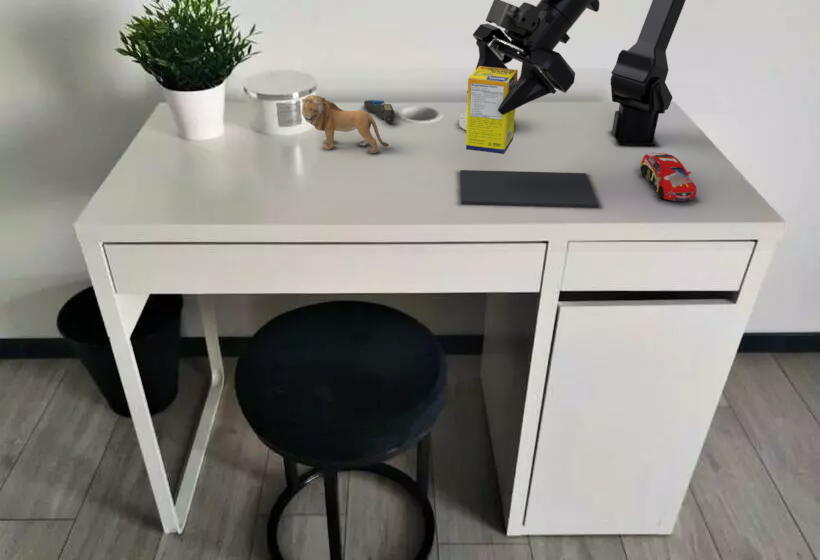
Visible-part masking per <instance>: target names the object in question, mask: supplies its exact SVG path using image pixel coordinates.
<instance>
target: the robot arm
mask: <svg viewBox="0 0 820 560" xmlns="http://www.w3.org/2000/svg"><path fill="white" fill-rule="evenodd" d="M685 3H686V0H652V1H651V3H650V6H649V8H648V12H647V14H646V16H645V20H644V22H643V25H642V27H641V30H640V33H639V35H638V37H637V40H636V42H635V43H634V44H633V45H632V46H631V47H629V49H627V50H626V49H621V51H620V52H619V53H618V55H617V59H616V62H615V65H614V67H613V69H612V70H611V76H610V83H609V85H610V91H611V102H612V103H616V104H617V103H618V104H619V105H618V110H615V112H614V115H613V116H614V117H613V121H612V128H611V134H612V136H613V137H614V139H615V140H616V143H617V145H619V146H642V147H643V146H645V147H646V146H647V147H655V146H657V142H656V139H655V136H656V129H657V126H658V125H657V124H658V120H659V115H660V114H665V113H666V111H667V110H668V109H669V108H670V106H671V103H672V101H673V95H672V93H671V91H670V89H669V88H668V85H667V83H666V80H667V77H668V74H669V64H668V58H667V50H668V47H669V44H670V41H671V39H672V36H673V35H674V32H675V29H676V26H677V24H678V21H679V18H680V16H681V13H682V11H683V9H684V6H685ZM600 5H601V4H600V0H540V1H539V2H538V3H537V5H535V4H532V3H529V2H525V1H523V2H522V3H521V5H520V6H517V5H514V4H512V3H510V2H506V1H504V0H493V1H492V3H491V6H490V9H489V10H488V13H487V16H486V18H485V22H487V23H482V24H479V26H478V27H477V28H476V29H475V31H474V32H473V33H472V37H473V38H474V39H475V40H476V42H475V45H476V46H477V47H478V55H479V56H478V60H477V63H476V67H475V70H476V69H477V68H478V67H479V66H483V67H493V68H504V69H509V68H508V66H507V65H506V64H508V63H511V62H512V61H513V60H515V61H518V62H520V63H521V70H520V76H519V78H517V82H516V83H515V85H514V86H513V87H512V89H511V90H510V92H509V93H508V94H507V96H506V97H505V99H504V100H503V102H502V103H501V105H500V107H499V108H498V111H499V112H500V114H502V115H504V114H506V113H508V112H510V111H512V110H514V109H515V110H516V109H518V108H520V107H522V106H524V105H526V104H528V103H530V102H533V101H534V100H537V99H539V98H542V97H544V96H547V95H550V94H553V95H554V94H556V93H557V90H558V91H560V92H562V93H564V94H566V93H567V92H568V91H569V89H570V88H571V87H573V85H574V83H575V78H576V77H575V76H576V72H575V71H574V69H573V68H572V67H571V66H570V64H569V63H568V62H567V61H566V60H565V58H564V57H563V56H562V55H561V53H560V52H558V51H555V50H554V49H555V48H556V47H557V45H559V43H562V44H565V45H566V44H567V43H568V42H569V40H571V37H570V36H569V34H568V32H569V31H570V29H572V27H573V26H574V25H575V23H576V22H577V21H578V20H579V18H580V17H581V16H582V15H583V14H584V12H585V11H586V10H587V9H588V10H590V11H593V12H595V13H597V12H599V10H600ZM492 24H495V25H496V26H495V25H492ZM501 28H502V29H504V30H502V29H501ZM466 94H468V90H467V91H466Z"/></svg>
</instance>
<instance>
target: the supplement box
mask: <svg viewBox="0 0 820 560" xmlns="http://www.w3.org/2000/svg"><path fill="white" fill-rule="evenodd" d="M518 72H519V70H518V69H513V68H508V69H504V68H493V67H483V66H479V67H478V68H477V69H476V68H475V69H474V71H473V72H472V73H471V74H470V75H469V76H468V79H467V91H468V93H467V101H466V107H467V129H466V130H465V132H466V133H465V134H466V135H465V138H466V139H465V149H466V150H468V151H477V152H483V153H492V154H499V155H505V153H506V152H507V150H508V148H509V147H510V145H511V143H512V142H513V140H514V131H515V121H516V119H515V117H516V109H514V110H512V111H510V112H508V113H506V114H504V115H502V114H500V112H499V111H498V108H499V107H500V105H501V103H502V102H503V100H504V99H505V97H506V96H507V94H508V93H509V92H510V90H511V89H512V87H513V86H514V85H515V83H516V82H517V80H518V74H519V73H518Z"/></svg>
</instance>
